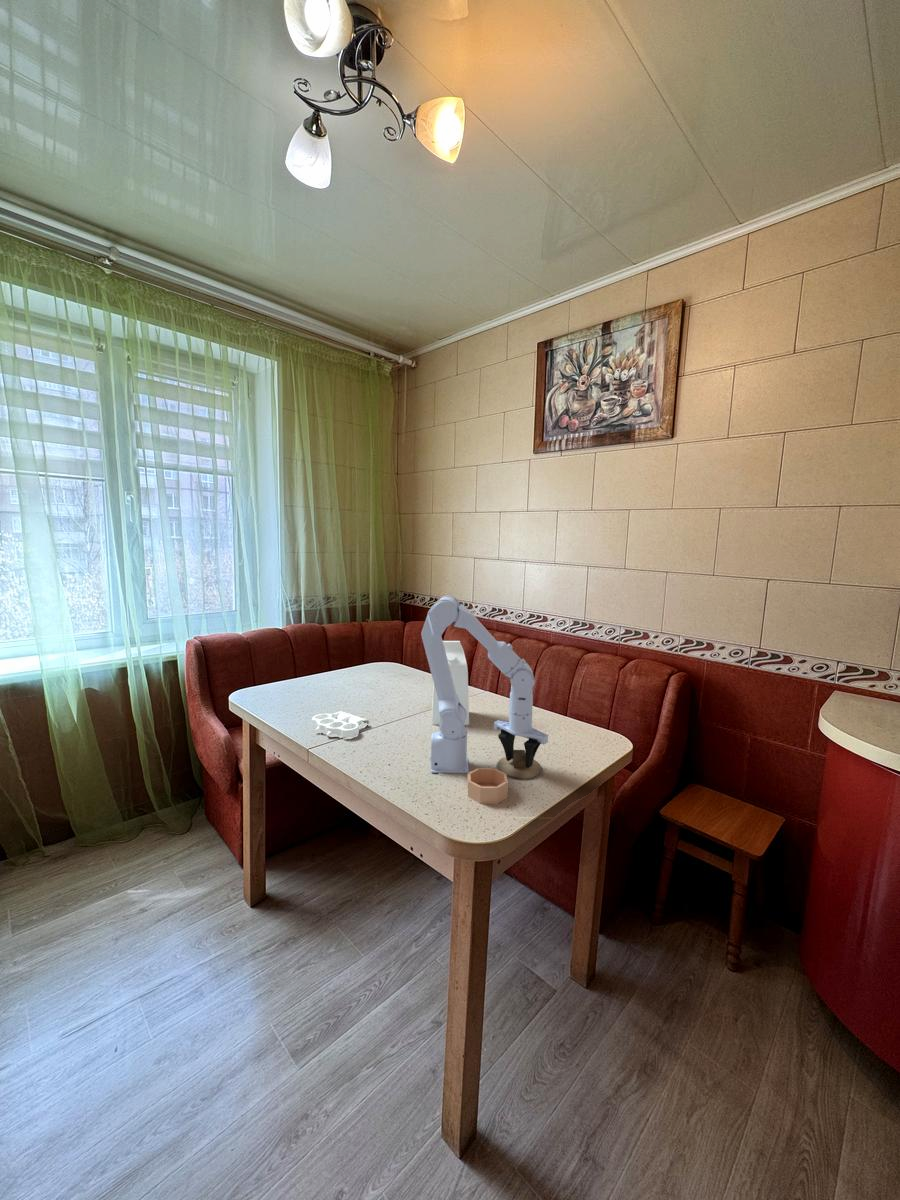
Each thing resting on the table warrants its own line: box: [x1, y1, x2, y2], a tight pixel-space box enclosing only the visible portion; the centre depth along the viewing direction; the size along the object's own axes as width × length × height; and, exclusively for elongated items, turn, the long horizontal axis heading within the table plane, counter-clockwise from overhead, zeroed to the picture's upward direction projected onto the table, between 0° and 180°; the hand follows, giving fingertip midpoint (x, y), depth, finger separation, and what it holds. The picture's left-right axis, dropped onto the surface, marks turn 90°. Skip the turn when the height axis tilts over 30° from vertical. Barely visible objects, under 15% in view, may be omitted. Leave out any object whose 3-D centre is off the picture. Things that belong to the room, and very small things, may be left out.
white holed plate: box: [311, 710, 370, 738], centre depth 139 cm, size 3×18×15 cm
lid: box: [497, 749, 542, 779], centre depth 115 cm, size 11×11×4 cm
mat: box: [495, 762, 544, 782], centre depth 115 cm, size 12×12×1 cm
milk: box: [431, 640, 470, 726], centre depth 148 cm, size 12×12×26 cm
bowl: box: [466, 767, 509, 805], centre depth 104 cm, size 9×9×4 cm
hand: (519, 762), depth 115 cm, fingers open, 5 cm apart
